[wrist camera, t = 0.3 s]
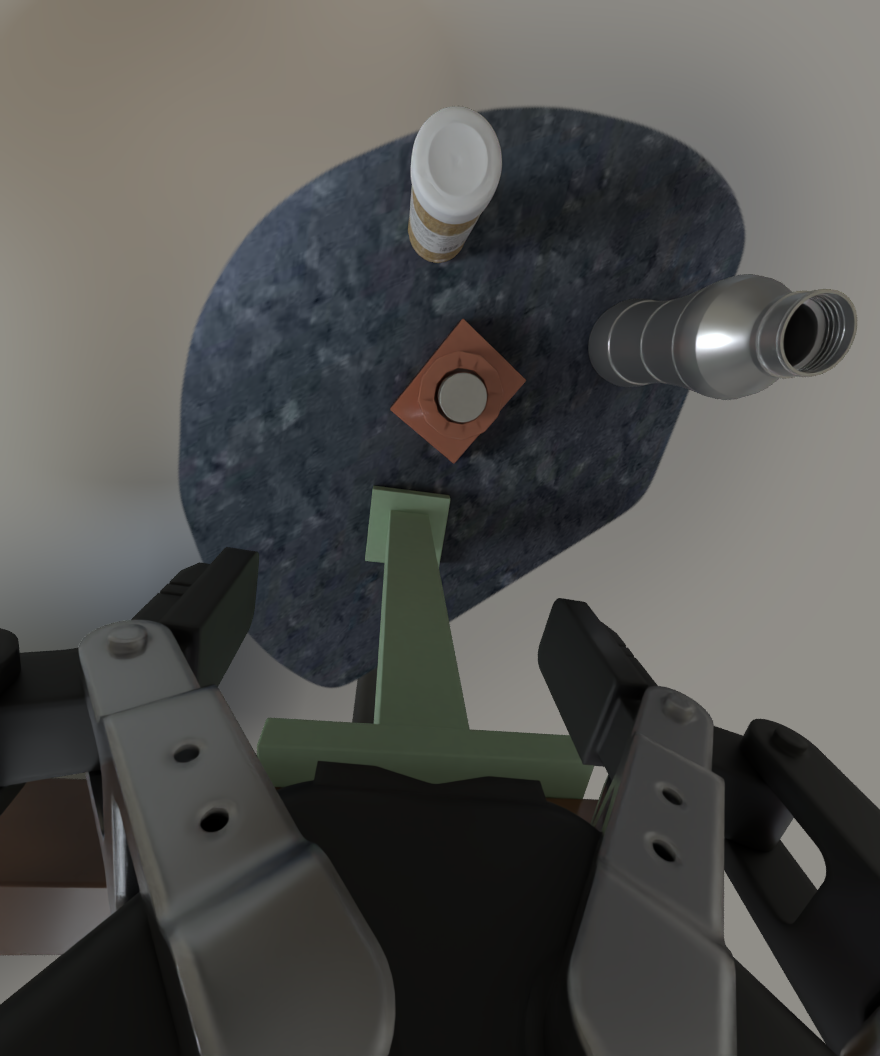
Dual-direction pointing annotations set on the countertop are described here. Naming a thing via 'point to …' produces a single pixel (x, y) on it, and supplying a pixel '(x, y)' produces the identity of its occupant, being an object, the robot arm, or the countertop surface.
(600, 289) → the countertop surface
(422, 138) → the sprinkles bottle
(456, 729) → the shelf stand
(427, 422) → the orange button pad
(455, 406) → the push button
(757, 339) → the grey bottle
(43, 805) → the brown wooden bar
